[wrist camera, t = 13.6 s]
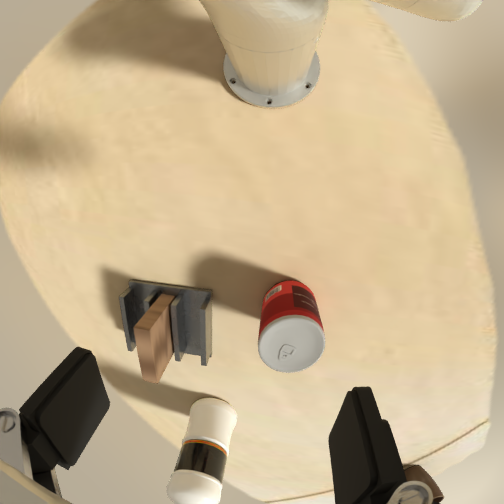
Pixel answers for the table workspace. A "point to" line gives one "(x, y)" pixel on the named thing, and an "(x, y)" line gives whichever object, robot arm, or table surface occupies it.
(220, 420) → the vodka
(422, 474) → the plant pot
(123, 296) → the rack
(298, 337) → the canned food
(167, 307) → the board
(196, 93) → the table surface
